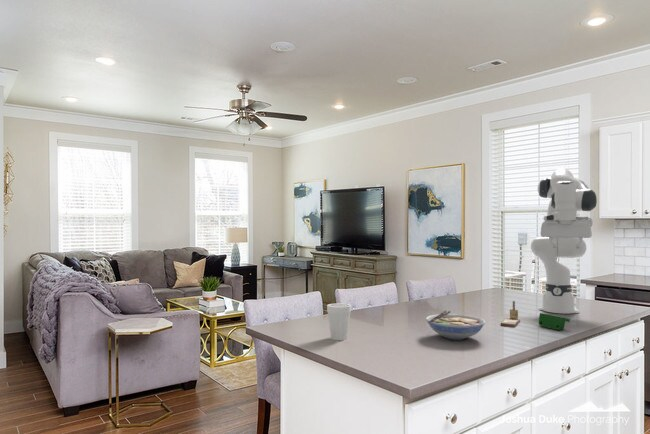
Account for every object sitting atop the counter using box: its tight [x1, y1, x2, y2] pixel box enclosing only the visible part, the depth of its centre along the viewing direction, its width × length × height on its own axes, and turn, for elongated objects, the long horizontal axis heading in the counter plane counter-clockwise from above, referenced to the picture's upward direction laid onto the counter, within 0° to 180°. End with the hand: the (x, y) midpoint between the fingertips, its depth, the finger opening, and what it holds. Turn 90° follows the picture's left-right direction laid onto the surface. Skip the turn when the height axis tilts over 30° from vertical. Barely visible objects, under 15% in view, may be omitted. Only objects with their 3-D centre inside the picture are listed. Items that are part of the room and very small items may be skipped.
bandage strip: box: [500, 317, 521, 328], centre depth 210 cm, size 13×6×1 cm, turn 149°
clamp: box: [538, 312, 571, 331], centre depth 202 cm, size 12×6×9 cm, turn 19°
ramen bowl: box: [425, 310, 486, 341], centre depth 184 cm, size 25×23×8 cm
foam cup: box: [326, 302, 352, 341], centre depth 183 cm, size 10×9×13 cm
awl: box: [509, 300, 519, 319], centre depth 218 cm, size 4×4×9 cm
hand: (565, 247), depth 206 cm, fingers open, 8 cm apart
